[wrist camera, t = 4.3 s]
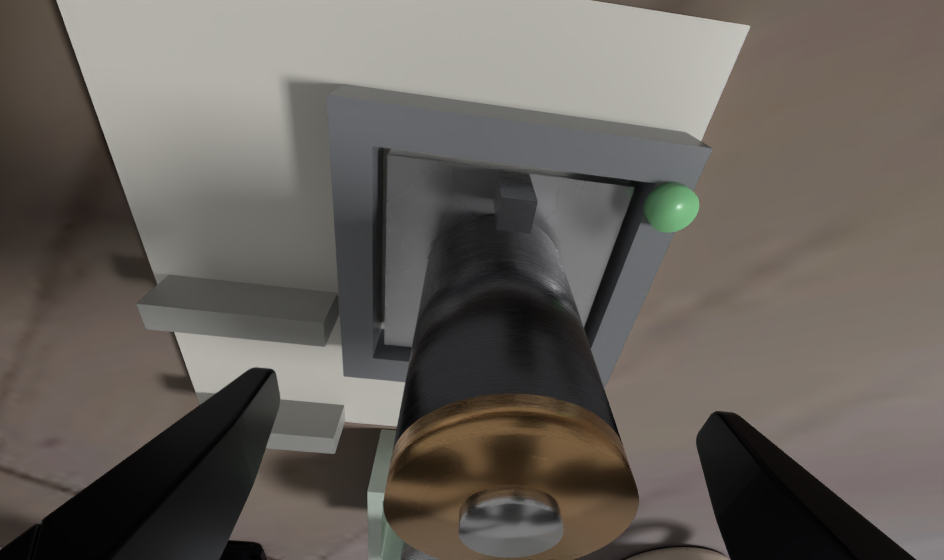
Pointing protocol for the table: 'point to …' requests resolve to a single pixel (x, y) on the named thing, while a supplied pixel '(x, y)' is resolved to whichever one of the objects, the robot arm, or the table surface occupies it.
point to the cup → (381, 504)
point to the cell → (504, 411)
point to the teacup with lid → (680, 554)
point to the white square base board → (373, 162)
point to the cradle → (516, 209)
